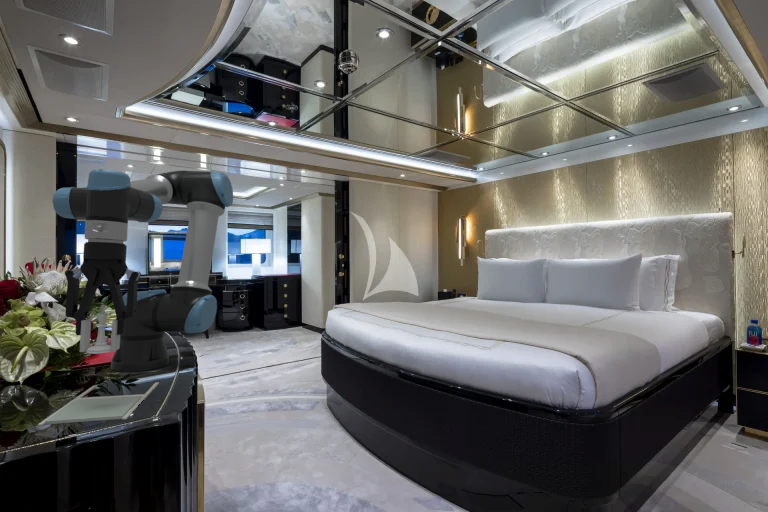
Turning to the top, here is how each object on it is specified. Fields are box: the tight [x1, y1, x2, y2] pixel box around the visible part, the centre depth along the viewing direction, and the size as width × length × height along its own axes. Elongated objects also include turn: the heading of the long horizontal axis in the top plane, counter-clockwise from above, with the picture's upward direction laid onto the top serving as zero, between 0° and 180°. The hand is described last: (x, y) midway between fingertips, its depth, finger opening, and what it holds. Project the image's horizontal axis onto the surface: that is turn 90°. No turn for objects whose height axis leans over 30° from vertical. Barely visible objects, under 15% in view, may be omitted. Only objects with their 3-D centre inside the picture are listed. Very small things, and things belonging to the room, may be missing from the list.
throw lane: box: [37, 381, 160, 427], centre depth 88 cm, size 25×15×1 cm, turn 17°
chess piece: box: [85, 304, 113, 355], centre depth 83 cm, size 5×5×10 cm
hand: (100, 350), depth 83 cm, fingers closed on chess piece, 5 cm apart
